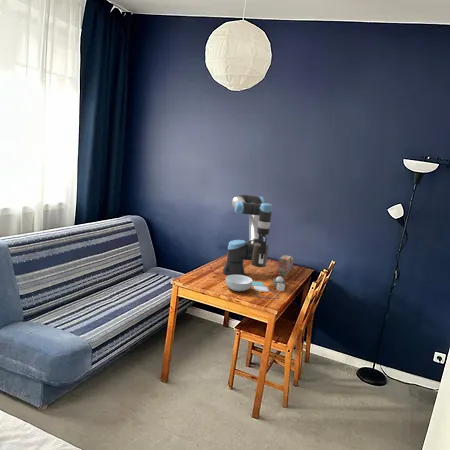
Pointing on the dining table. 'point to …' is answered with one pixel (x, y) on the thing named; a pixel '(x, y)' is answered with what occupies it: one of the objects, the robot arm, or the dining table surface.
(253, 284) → the pad
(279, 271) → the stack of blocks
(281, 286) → the die
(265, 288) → the pad one
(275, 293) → the ring
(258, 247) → the pillar candle
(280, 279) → the dome
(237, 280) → the cereal bowl
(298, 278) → the dining table surface
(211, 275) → the dining table surface
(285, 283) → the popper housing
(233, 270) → the robot arm
